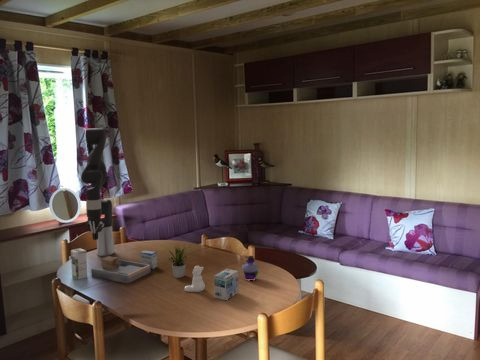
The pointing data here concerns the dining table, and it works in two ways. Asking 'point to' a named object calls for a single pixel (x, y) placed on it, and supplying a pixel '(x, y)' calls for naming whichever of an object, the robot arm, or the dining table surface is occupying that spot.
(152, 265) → the medicine box
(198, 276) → the white creature statuette
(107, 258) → the walnut block
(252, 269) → the potion bottle
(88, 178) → the robot arm
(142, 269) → the grey tray
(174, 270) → the house plant
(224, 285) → the light bulb box
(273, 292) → the dining table surface
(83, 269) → the syrup box
